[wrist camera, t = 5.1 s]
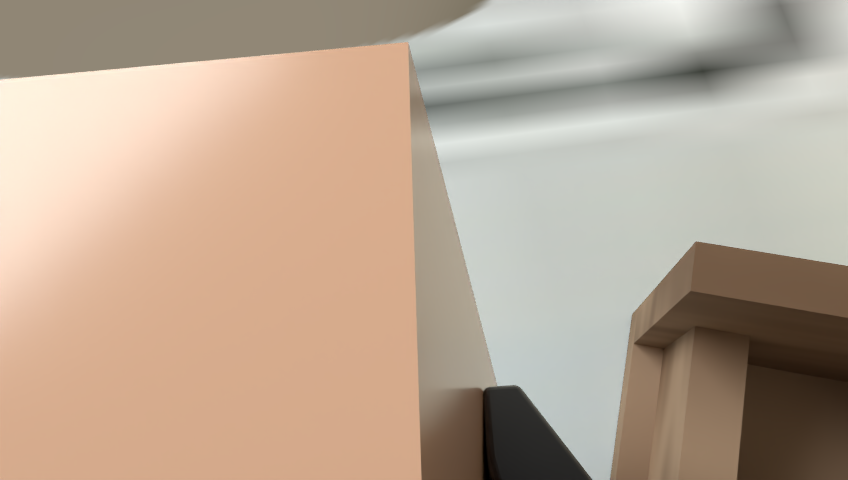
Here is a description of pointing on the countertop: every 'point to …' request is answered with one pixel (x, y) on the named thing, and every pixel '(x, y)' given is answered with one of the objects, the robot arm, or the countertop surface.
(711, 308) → the drying rack
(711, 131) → the countertop surface
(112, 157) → the clay strip
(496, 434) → the robot arm
